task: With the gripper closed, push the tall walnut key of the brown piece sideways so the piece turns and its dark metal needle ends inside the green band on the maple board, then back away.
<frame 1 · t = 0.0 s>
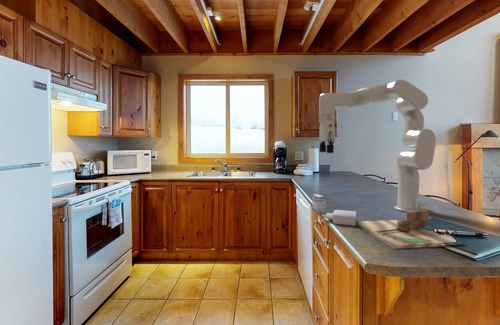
hand: (326, 152, 130), 31 cm above the countertop, tool pointing down, fingers open, 9 cm apart
charger: (338, 222, 118), on the countertop
brown piece: (402, 221, 101), point 5 cm above the countertop, hinge at 10.0°
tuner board: (403, 233, 101), on the countertop
medicine box: (318, 212, 134), on the countertop
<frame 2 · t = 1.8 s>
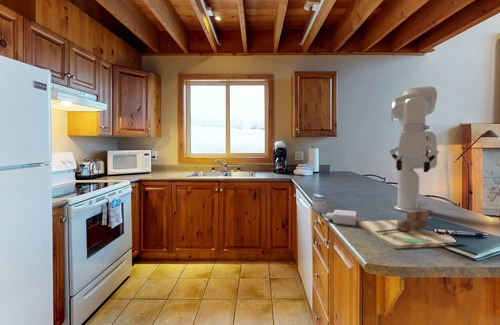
hand: (412, 171, 105), 24 cm above the countertop, tool pointing down, fingers open, 9 cm apart
nothing on the countertop moved.
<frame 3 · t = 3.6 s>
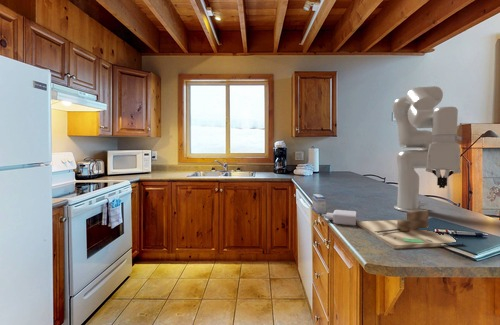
hand: (442, 187, 99), 19 cm above the countertop, tool pointing down, fingers closed
nothing on the countertop moved.
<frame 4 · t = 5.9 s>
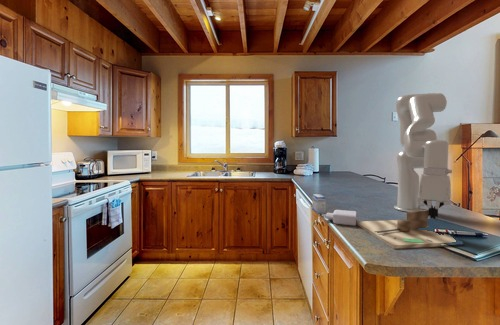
hand: (432, 217, 101), 6 cm above the countertop, tool pointing down, fingers closed
brown piece: (402, 221, 101), point 5 cm above the countertop, hinge at 10.9°, touching gripper
everything else where it was.
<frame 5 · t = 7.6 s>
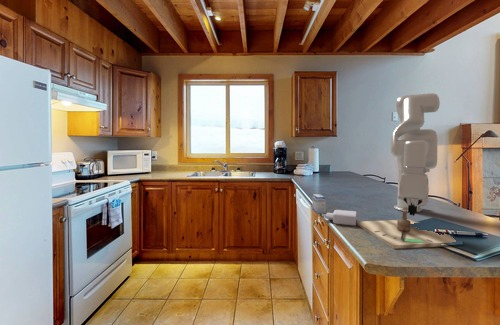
hand: (412, 214, 106), 6 cm above the countertop, tool pointing down, fingers closed
brown piece: (403, 221, 101), point 5 cm above the countertop, hinge at 51.8°, touching gripper
everything else where it was.
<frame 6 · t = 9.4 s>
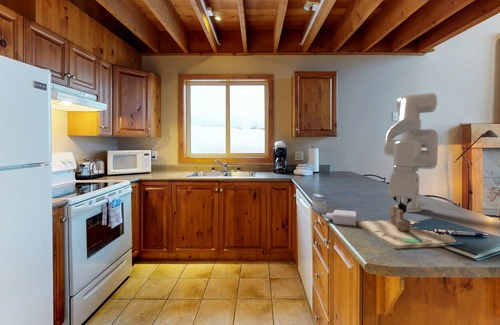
hand: (402, 213, 108), 6 cm above the countertop, tool pointing down, fingers closed
brown piece: (404, 221, 101), point 5 cm above the countertop, hinge at 78.8°
everything else where it was.
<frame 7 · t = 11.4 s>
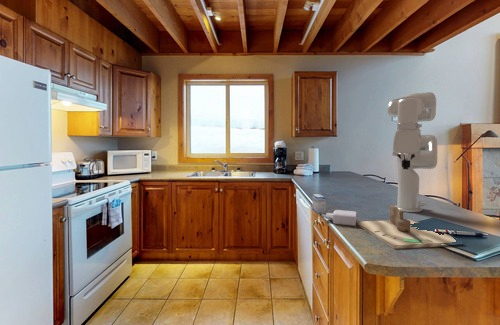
hand: (405, 169, 113), 24 cm above the countertop, tool pointing down, fingers closed
nothing on the countertop moved.
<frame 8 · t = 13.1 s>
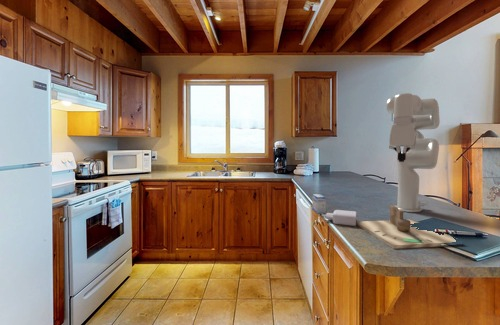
hand: (401, 161, 118), 27 cm above the countertop, tool pointing down, fingers closed
nothing on the countertop moved.
at the end: brown piece at +79° (first picture: +10°) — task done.
